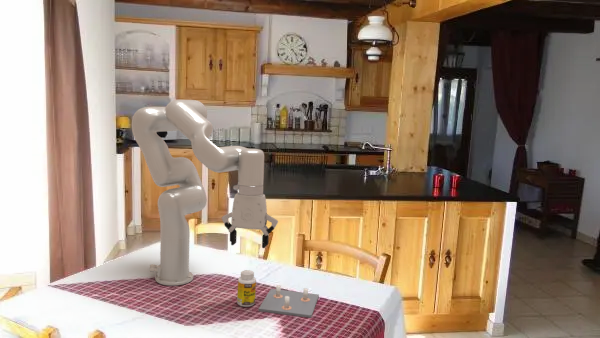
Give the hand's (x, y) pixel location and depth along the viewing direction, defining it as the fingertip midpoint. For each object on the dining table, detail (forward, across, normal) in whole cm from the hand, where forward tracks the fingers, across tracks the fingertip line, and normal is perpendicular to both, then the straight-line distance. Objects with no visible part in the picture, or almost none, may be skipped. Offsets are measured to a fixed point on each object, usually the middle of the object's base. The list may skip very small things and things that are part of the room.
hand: (248, 245), depth 151 cm
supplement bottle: (+19, 0, 0) cm, 19 cm away
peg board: (+19, +13, +4) cm, 23 cm away
